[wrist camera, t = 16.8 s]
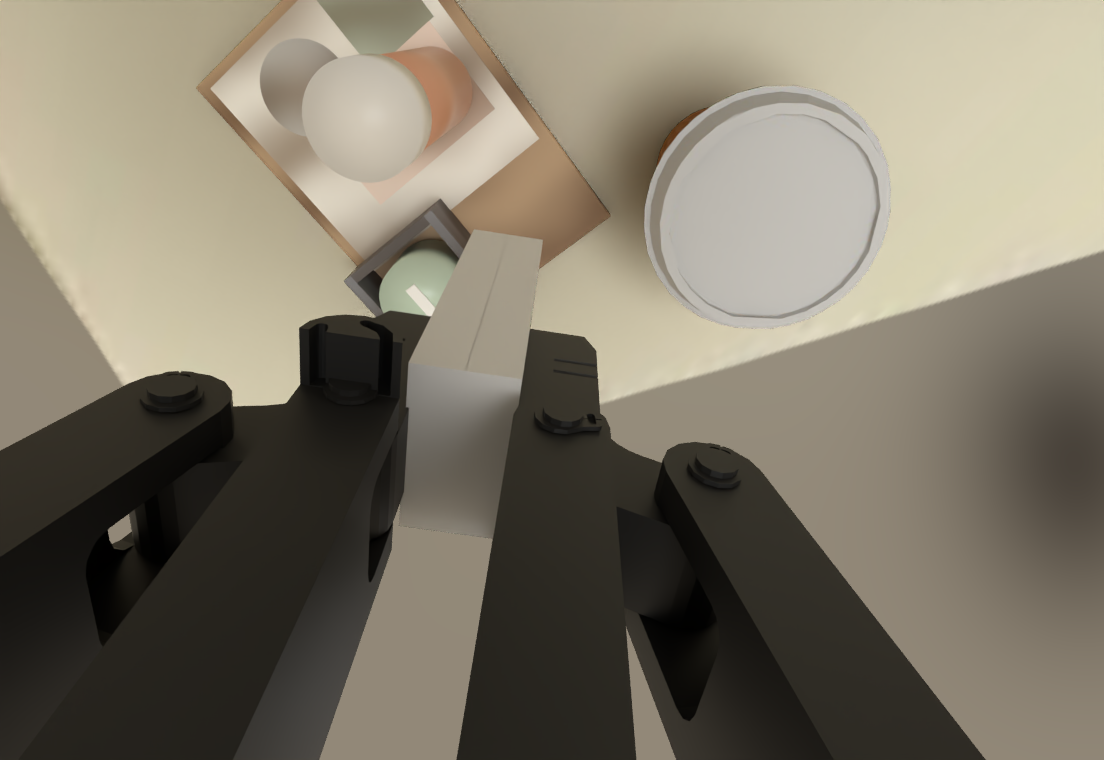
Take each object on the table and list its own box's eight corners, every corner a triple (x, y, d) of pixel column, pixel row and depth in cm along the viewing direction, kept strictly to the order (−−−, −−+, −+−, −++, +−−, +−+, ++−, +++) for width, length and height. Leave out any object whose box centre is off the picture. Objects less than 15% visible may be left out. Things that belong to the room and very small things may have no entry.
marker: (382, 81, 35) (277, 113, 23) (439, 24, 33) (358, 27, 22) (437, 146, 36) (364, 206, 25) (494, 93, 35) (445, 130, 23)
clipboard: (201, 86, 36) (165, 92, 33) (383, -99, 32) (363, -113, 29) (433, 344, 42) (422, 369, 39) (609, 213, 38) (613, 229, 35)
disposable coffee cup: (789, 43, 34) (888, 46, 23) (819, 226, 38) (916, 301, 27) (603, 107, 36) (616, 139, 25) (651, 277, 40) (680, 367, 29)
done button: (379, 270, 39) (360, 292, 36) (437, 223, 38) (424, 241, 34) (431, 329, 40) (418, 355, 37) (489, 285, 39) (481, 309, 36)
